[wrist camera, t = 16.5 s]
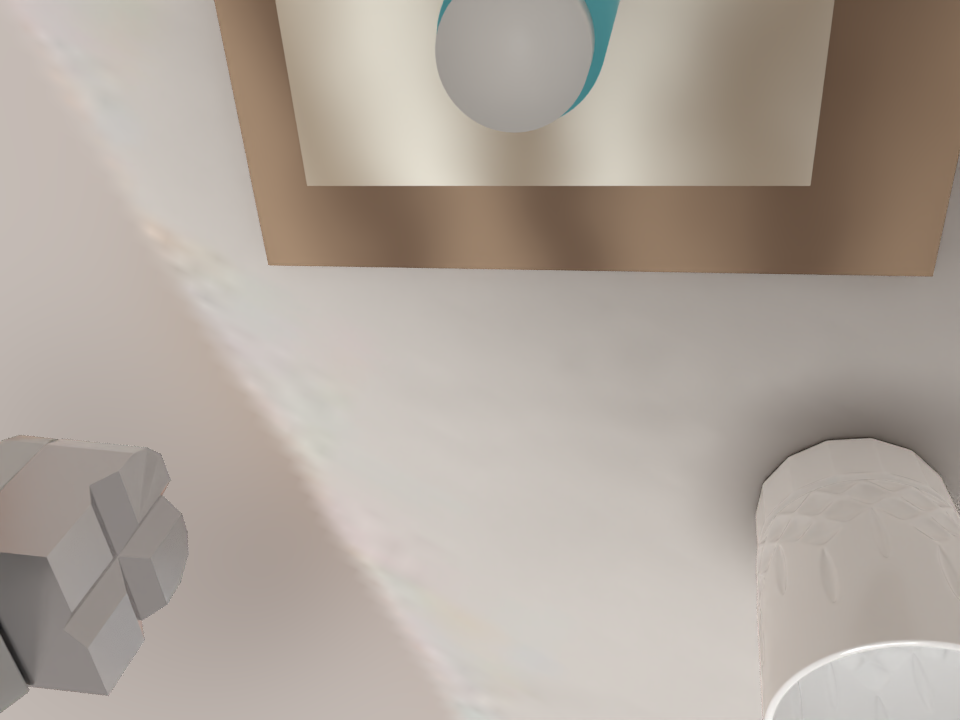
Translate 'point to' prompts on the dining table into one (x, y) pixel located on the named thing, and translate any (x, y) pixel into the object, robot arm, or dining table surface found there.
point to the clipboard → (608, 141)
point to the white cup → (858, 586)
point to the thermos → (521, 57)
